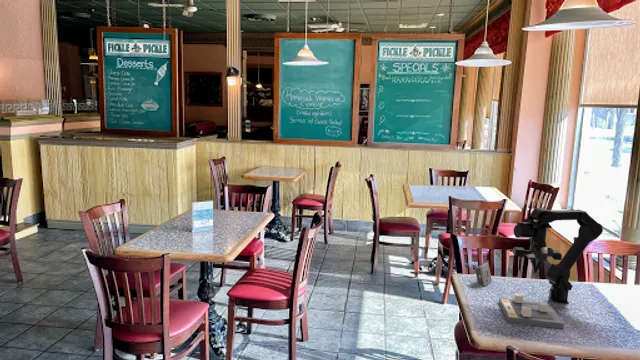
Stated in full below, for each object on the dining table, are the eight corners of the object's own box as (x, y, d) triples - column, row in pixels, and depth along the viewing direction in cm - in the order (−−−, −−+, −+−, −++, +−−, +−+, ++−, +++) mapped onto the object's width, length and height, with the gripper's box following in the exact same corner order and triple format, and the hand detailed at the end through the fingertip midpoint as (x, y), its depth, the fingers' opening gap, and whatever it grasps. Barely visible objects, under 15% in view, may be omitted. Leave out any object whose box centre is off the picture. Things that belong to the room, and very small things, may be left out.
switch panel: (548, 307, 198) (548, 302, 197) (563, 328, 178) (563, 322, 178) (498, 302, 201) (499, 297, 201) (508, 322, 182) (508, 317, 181)
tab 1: (529, 314, 184) (529, 306, 184) (531, 317, 181) (531, 309, 181) (521, 313, 185) (521, 306, 184) (522, 316, 182) (523, 309, 181)
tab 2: (545, 309, 190) (546, 302, 189) (547, 312, 187) (548, 305, 186) (537, 308, 190) (538, 301, 190) (539, 311, 187) (540, 304, 187)
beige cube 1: (520, 300, 198) (521, 293, 197) (522, 303, 195) (523, 296, 194) (513, 299, 198) (514, 293, 198) (515, 302, 195) (515, 295, 195)
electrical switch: (485, 286, 220) (485, 267, 219) (474, 284, 223) (474, 265, 222) (492, 281, 227) (491, 263, 226) (481, 280, 230) (481, 261, 230)
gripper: (519, 240, 194) (516, 276, 196) (568, 244, 191) (563, 280, 193) (514, 234, 205) (510, 268, 207) (559, 237, 202) (555, 272, 204)
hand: (534, 272), depth 202 cm, fingers closed
